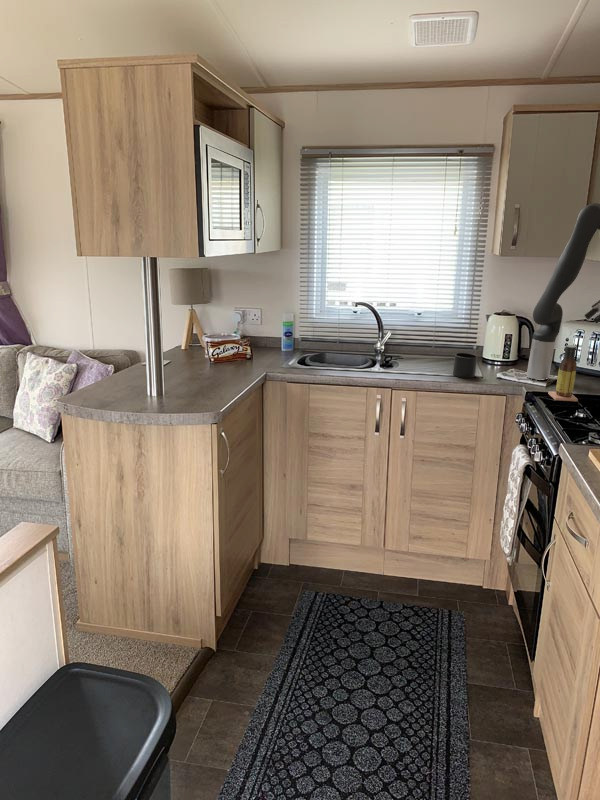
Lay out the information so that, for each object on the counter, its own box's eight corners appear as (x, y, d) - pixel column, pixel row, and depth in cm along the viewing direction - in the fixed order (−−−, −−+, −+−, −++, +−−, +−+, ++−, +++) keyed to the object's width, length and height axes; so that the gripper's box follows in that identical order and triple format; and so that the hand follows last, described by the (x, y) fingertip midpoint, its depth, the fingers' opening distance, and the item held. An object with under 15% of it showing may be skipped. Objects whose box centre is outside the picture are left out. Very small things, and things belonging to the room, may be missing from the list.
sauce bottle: (567, 392, 245) (576, 344, 238) (574, 397, 239) (584, 348, 233) (551, 392, 244) (560, 343, 238) (558, 397, 238) (567, 347, 232)
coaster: (548, 393, 246) (548, 391, 245) (569, 394, 245) (570, 392, 245) (555, 400, 238) (555, 397, 237) (577, 401, 237) (577, 399, 237)
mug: (468, 371, 274) (471, 351, 272) (477, 378, 263) (480, 358, 260) (448, 370, 274) (450, 351, 271) (456, 378, 262) (459, 357, 260)
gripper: (612, 281, 239) (577, 309, 243) (629, 286, 225) (591, 315, 230) (623, 296, 240) (588, 323, 244) (640, 301, 227) (603, 330, 231)
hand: (590, 319), depth 237 cm, fingers open, 8 cm apart
